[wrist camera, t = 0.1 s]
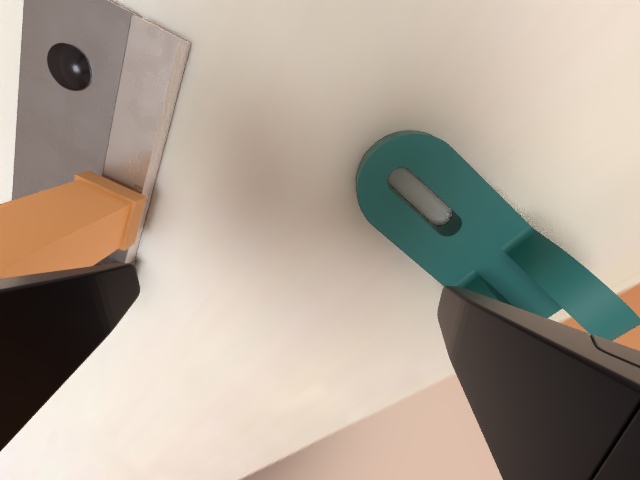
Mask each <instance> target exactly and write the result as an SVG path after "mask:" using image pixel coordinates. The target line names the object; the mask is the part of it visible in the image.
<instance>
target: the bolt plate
mask: <svg viewBox="0 0 640 480" xmlns="http://www.w3.org/2000/svg"><path fill="white" fill-rule="evenodd" d="M132 15H135V16H137V17H140V18H142V17H141V16H139V15H137V14H135V13H133V12H131V11H129V10H128V9H126V8H124V7H122V6H120V5H118V4H116V3H114V2H112V1H110V0H24V8H23V24H22V41H21V58H20V75H19V91H18V108H17V125H16V141H15V158H14V175H13V192H12V200H15V199H18V198H22V197H25V196H28V195H31V194H34V193H38V192H41V191H44V190H47V189H50V188H54V187H57V186H60V185H63V184H66V183H69V182H73V181H74V179H75V174H78V173H82V172H85V171H91V172H94V173H96V174H98V175H100V176H103V171H104V165H105V160H106V154H107V149H108V143H109V138H110V132H111V127H112V122H113V116H114V111H115V105H116V100H117V94H118V89H119V84H120V78H121V73H122V67H123V62H124V56H125V51H126V46H127V40H128V35H129V29H130V24H131V18H132Z"/></svg>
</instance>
